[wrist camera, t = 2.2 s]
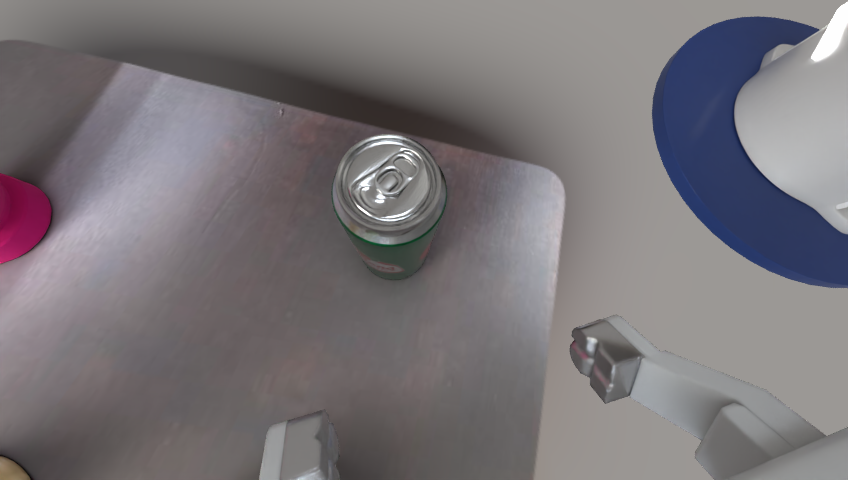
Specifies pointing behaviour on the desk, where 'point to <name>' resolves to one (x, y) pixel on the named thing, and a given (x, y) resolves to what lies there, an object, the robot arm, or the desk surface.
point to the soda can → (390, 202)
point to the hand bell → (11, 470)
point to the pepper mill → (21, 217)
